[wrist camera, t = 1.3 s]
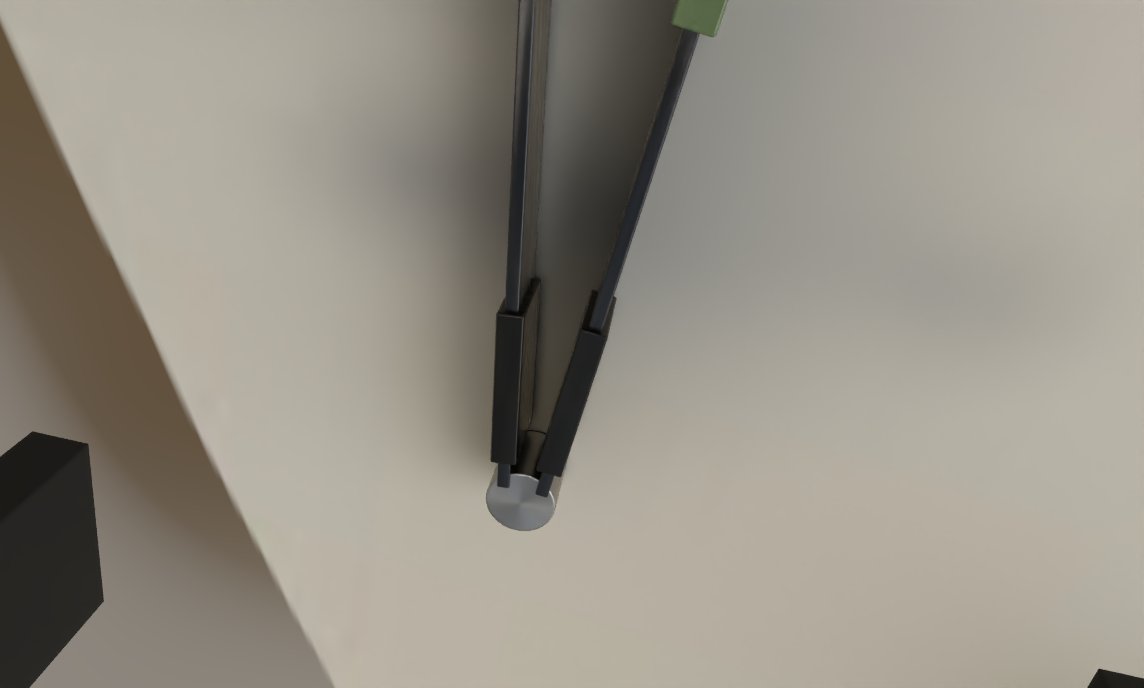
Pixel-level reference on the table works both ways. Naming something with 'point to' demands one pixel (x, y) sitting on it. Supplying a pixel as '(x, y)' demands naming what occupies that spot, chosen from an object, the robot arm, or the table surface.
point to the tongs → (524, 456)
